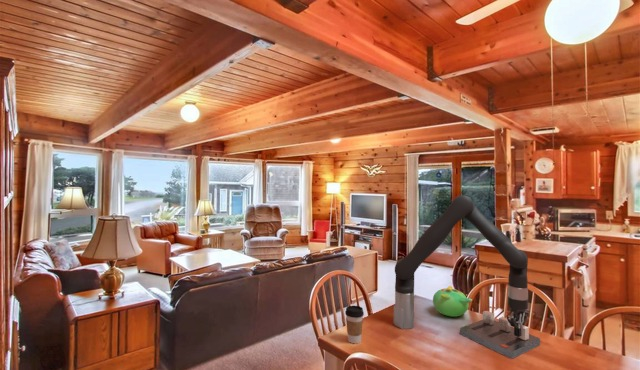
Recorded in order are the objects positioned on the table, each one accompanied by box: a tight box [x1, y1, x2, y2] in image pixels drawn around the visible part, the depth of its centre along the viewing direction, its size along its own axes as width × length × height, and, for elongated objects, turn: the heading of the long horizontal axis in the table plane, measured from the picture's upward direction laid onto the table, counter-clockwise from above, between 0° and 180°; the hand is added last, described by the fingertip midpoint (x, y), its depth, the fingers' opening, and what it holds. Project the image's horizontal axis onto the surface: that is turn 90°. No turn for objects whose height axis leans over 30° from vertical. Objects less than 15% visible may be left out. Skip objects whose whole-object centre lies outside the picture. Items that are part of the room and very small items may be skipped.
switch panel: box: [459, 310, 541, 360], centre depth 143 cm, size 22×24×8 cm
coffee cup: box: [344, 305, 365, 344], centre depth 142 cm, size 8×8×15 cm
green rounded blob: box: [432, 285, 473, 317], centre depth 169 cm, size 18×17×15 cm
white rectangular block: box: [516, 325, 530, 340], centre depth 138 cm, size 3×4×5 cm
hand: (517, 335), depth 136 cm, fingers closed
